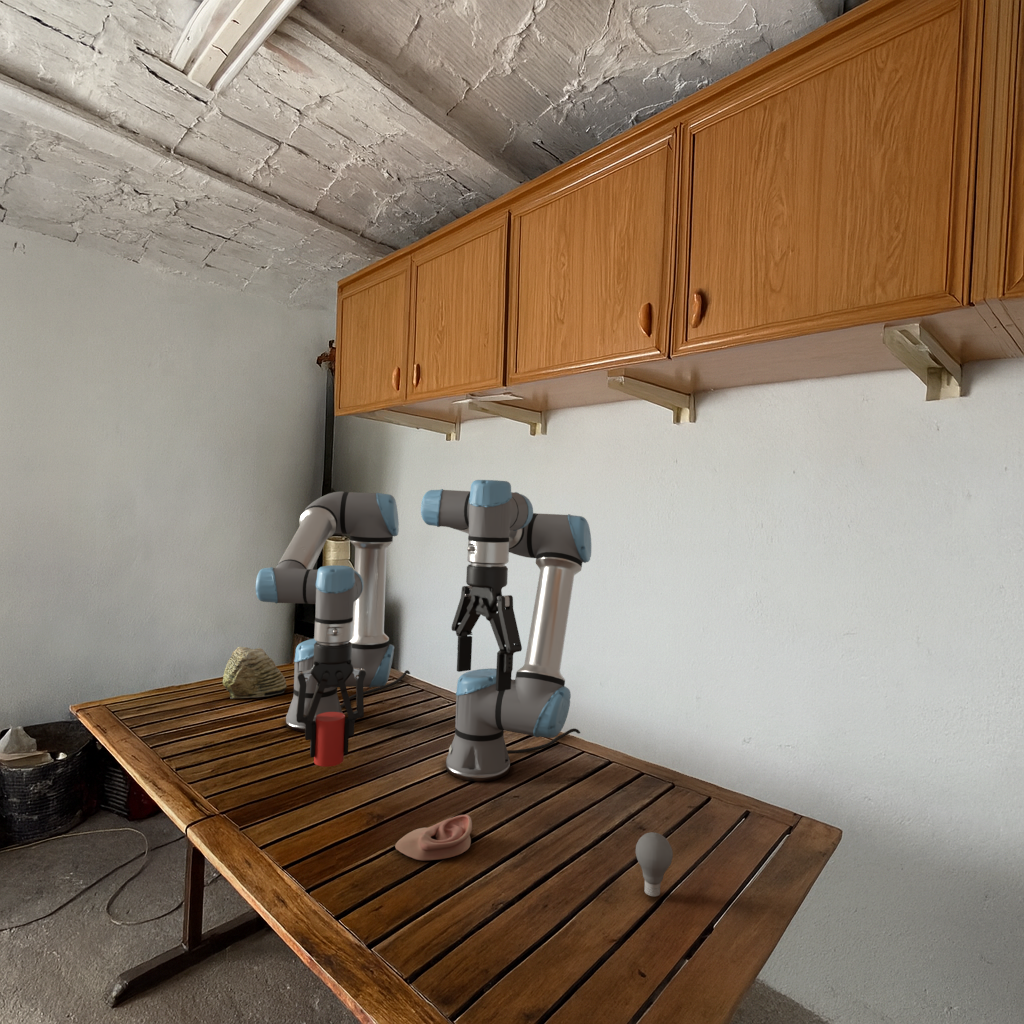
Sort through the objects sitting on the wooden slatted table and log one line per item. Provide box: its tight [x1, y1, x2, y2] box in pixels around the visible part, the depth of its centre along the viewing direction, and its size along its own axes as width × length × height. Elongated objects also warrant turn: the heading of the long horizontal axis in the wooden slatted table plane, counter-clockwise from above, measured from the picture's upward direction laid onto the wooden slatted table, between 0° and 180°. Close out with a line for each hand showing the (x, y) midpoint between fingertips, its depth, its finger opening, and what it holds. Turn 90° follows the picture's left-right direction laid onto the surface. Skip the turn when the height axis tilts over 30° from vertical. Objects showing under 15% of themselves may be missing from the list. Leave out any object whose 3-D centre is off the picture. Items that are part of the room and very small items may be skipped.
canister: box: [313, 712, 346, 768], centre depth 130 cm, size 6×6×9 cm
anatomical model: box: [394, 814, 473, 861], centre depth 117 cm, size 13×4×12 cm
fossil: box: [222, 646, 288, 699], centre depth 198 cm, size 9×18×15 cm, turn 132°
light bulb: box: [635, 831, 674, 897], centre depth 105 cm, size 6×6×10 cm
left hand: (329, 752), depth 131 cm, fingers closed on canister, 6 cm apart
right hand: (482, 679), depth 116 cm, fingers open, 13 cm apart
